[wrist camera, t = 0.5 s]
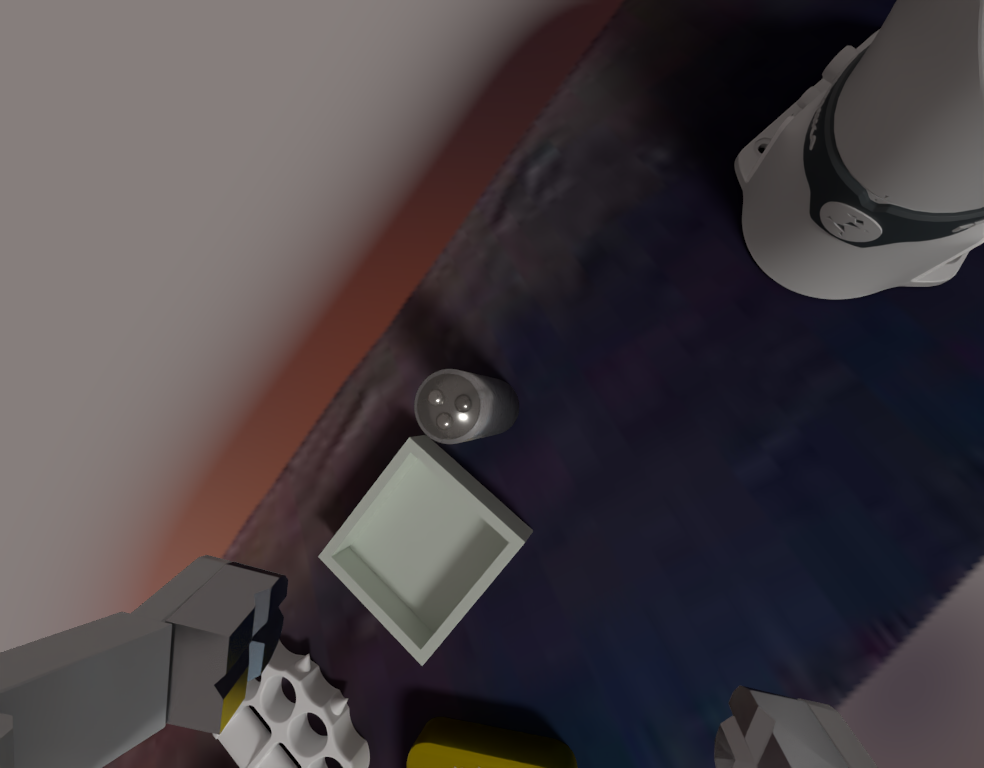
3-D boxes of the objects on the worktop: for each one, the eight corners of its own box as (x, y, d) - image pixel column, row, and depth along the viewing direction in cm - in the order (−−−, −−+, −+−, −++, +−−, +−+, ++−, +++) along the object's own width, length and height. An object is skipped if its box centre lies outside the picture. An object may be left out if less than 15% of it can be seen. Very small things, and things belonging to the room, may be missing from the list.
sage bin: (426, 434, 48) (409, 437, 44) (533, 530, 45) (525, 542, 41) (341, 545, 50) (318, 556, 46) (438, 644, 47) (422, 666, 43)
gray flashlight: (487, 366, 47) (440, 352, 35) (530, 402, 46) (497, 400, 33) (454, 410, 48) (395, 411, 35) (495, 446, 46) (450, 460, 34)
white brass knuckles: (210, 696, 54) (283, 603, 52) (315, 830, 50) (398, 735, 48) (183, 714, 51) (260, 616, 49) (293, 860, 47) (381, 759, 45)
